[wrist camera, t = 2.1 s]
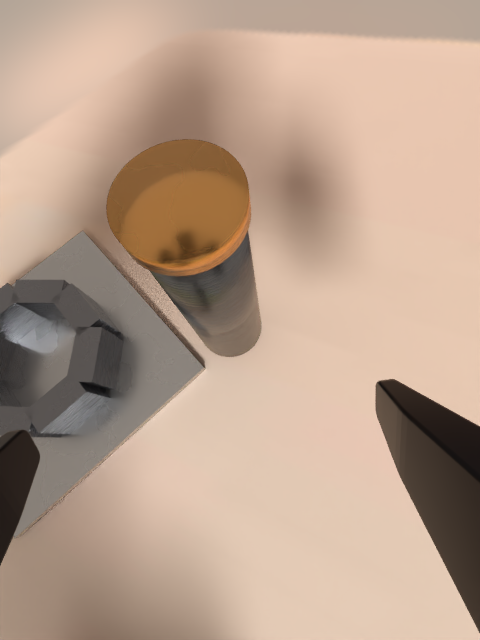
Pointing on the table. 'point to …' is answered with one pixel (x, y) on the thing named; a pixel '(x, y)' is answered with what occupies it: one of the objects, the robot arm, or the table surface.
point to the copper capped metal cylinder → (192, 236)
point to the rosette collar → (81, 367)
